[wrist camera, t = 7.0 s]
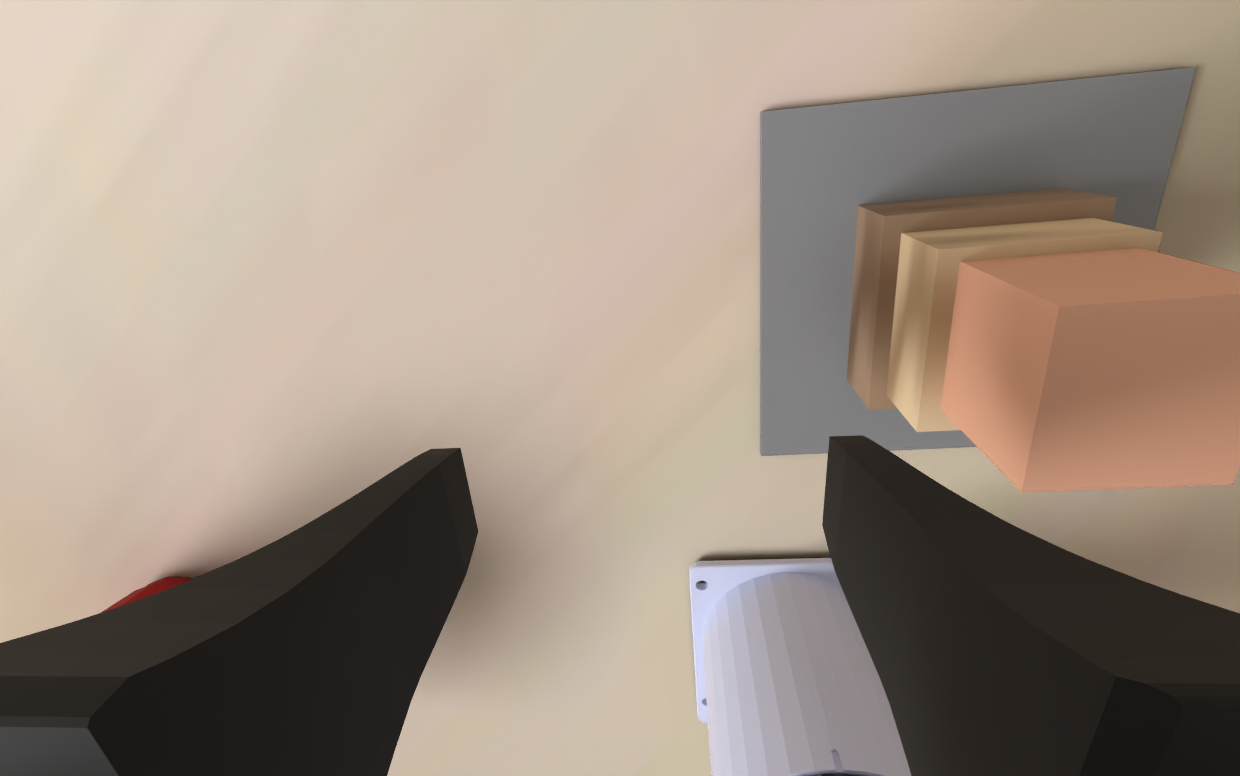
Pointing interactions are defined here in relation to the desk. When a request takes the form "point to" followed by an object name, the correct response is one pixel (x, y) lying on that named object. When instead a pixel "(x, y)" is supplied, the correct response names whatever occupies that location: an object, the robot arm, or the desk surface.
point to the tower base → (889, 220)
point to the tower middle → (933, 288)
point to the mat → (921, 170)
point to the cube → (1098, 369)
